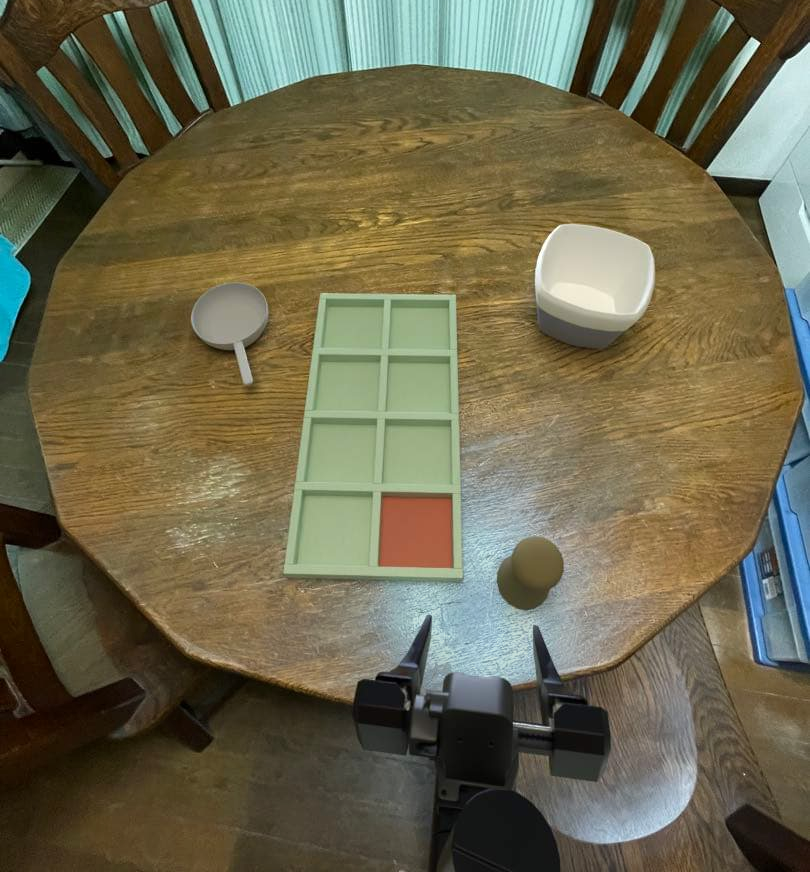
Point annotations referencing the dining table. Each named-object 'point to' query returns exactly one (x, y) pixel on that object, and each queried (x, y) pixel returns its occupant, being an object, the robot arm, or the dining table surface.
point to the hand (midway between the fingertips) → (481, 622)
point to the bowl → (592, 284)
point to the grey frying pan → (231, 320)
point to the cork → (530, 573)
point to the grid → (380, 443)
